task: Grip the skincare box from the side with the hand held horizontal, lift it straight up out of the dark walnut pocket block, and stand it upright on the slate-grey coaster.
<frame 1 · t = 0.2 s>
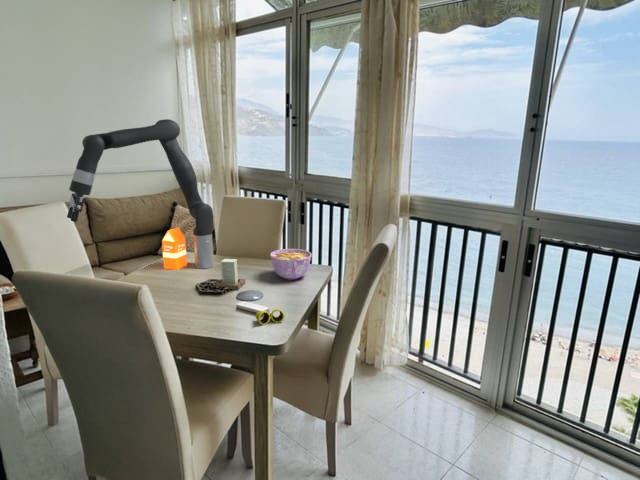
hand: (71, 219, 163), 31 cm above the table, tool tilted 20°, fingers open, 8 cm apart
pocket block: (230, 285, 179), on the table
slate coaster: (250, 296, 168), on the table
skincare box: (230, 286, 179), resting in pocket block
bowl of food: (291, 277, 193), on the table
opera glasses: (269, 321, 145), on the table
orange juice: (175, 266, 205), on the table
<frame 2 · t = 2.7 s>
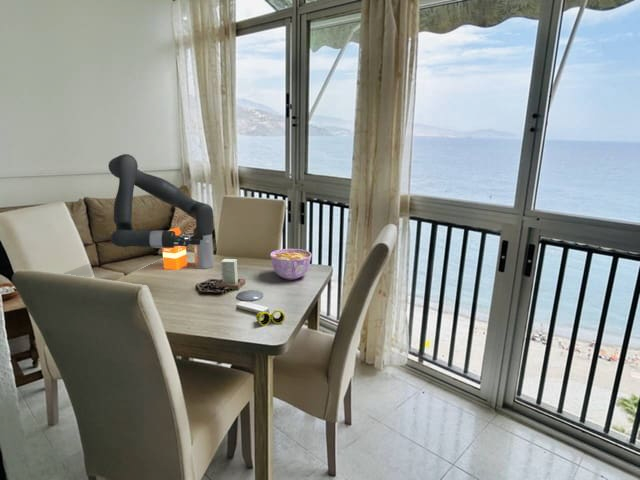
hand: (201, 239, 173), 22 cm above the table, tool horizontal, fingers open, 8 cm apart
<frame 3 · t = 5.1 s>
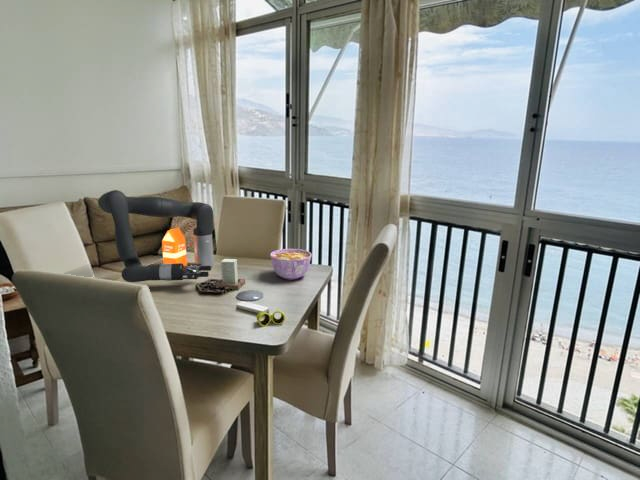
hand: (209, 271, 176), 7 cm above the table, tool horizontal, fingers open, 8 cm apart
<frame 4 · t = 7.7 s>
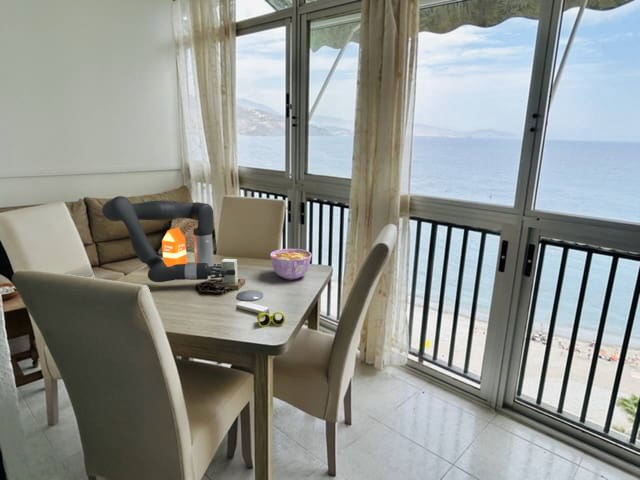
hand: (235, 270, 178), 7 cm above the table, tool horizontal, fingers closed on skincare box, 5 cm apart
skincare box: (230, 286, 179), resting in pocket block, touching gripper
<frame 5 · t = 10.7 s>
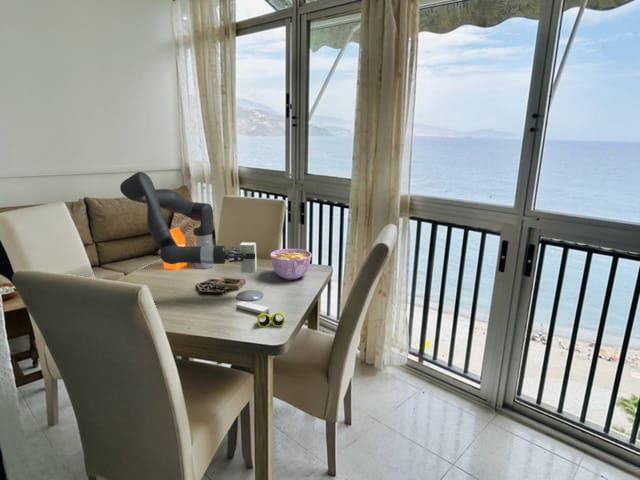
hand: (255, 254, 164), 18 cm above the table, tool horizontal, fingers closed on skincare box, 5 cm apart
skincare box: (248, 272, 165), point 11 cm above the table, touching gripper
when the fingers open (9 cm above the table, at t = 12.8 s): skincare box drops 1 cm, resting on slate coaster.
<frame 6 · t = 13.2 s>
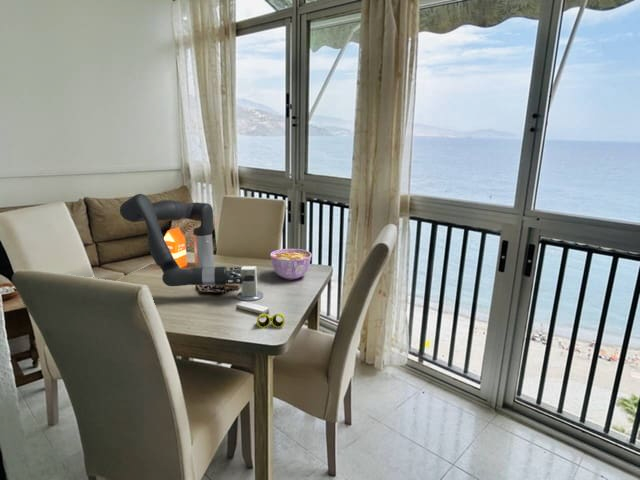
hand: (254, 274, 166), 9 cm above the table, tool horizontal, fingers open, 8 cm apart
skincare box: (249, 295, 168), resting on slate coaster
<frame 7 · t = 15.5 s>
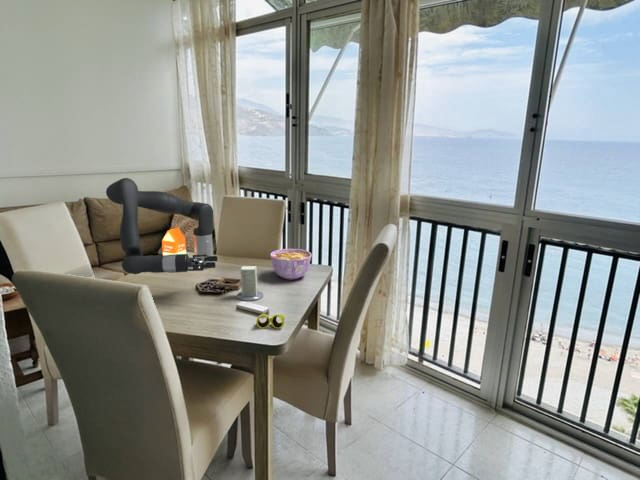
hand: (216, 261, 165), 15 cm above the table, tool horizontal, fingers open, 8 cm apart
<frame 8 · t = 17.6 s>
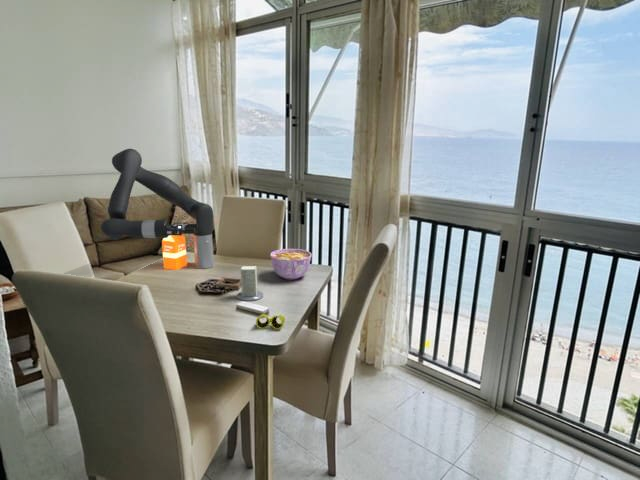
hand: (196, 228, 165), 28 cm above the table, tool horizontal, fingers open, 8 cm apart
at the end: skincare box 0.2 cm off-centre on the slate coaster, point 0.4 cm above the slate coaster's base; skincare box tilted 0°; the gripper is holding nothing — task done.
